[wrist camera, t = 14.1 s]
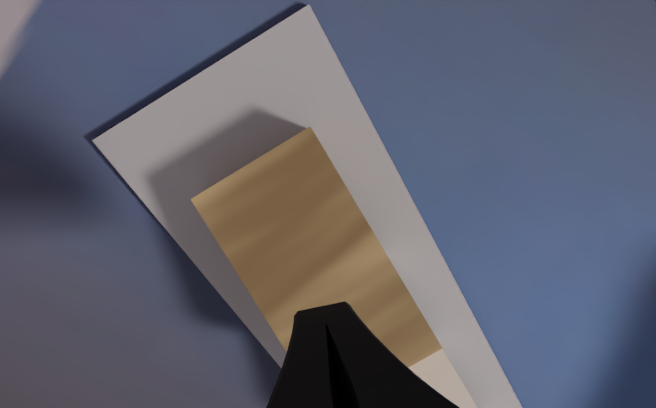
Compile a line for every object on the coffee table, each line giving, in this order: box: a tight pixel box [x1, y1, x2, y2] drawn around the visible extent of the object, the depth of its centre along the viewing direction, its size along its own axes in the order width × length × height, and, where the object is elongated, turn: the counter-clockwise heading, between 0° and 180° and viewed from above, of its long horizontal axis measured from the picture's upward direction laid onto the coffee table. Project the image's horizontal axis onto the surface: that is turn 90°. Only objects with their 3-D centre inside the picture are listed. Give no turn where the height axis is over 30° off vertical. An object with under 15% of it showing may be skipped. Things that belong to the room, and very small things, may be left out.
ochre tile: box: [191, 127, 442, 367], centre depth 15 cm, size 2×5×9 cm
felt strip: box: [92, 5, 522, 408], centre depth 21 cm, size 32×9×1 cm, turn 30°
